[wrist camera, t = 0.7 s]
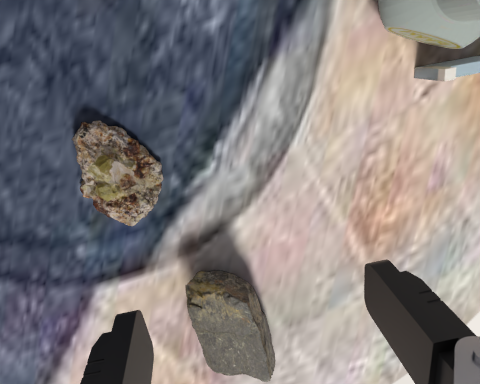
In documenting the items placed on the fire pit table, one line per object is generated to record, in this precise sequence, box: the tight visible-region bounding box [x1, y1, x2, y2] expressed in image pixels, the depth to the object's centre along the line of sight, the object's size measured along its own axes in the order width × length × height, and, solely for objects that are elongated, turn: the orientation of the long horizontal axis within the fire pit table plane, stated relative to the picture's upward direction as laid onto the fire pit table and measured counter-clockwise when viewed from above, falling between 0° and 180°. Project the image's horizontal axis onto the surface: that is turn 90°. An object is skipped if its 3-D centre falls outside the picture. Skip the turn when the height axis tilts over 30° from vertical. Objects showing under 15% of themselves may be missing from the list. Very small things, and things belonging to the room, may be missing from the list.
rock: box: [186, 271, 275, 382], centre depth 39 cm, size 17×7×10 cm
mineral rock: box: [72, 121, 163, 226], centre depth 33 cm, size 11×4×8 cm
